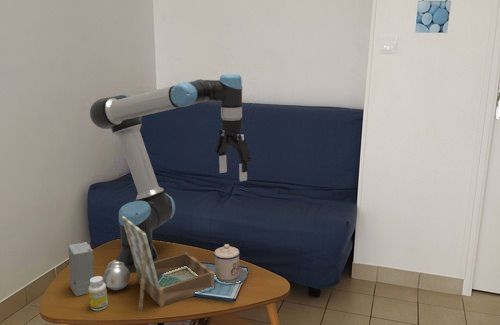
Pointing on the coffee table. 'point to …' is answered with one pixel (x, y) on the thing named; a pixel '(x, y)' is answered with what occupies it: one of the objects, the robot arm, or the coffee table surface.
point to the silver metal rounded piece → (116, 275)
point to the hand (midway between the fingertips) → (232, 176)
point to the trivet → (241, 277)
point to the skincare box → (80, 267)
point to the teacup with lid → (226, 262)
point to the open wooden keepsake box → (164, 270)
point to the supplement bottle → (98, 293)
